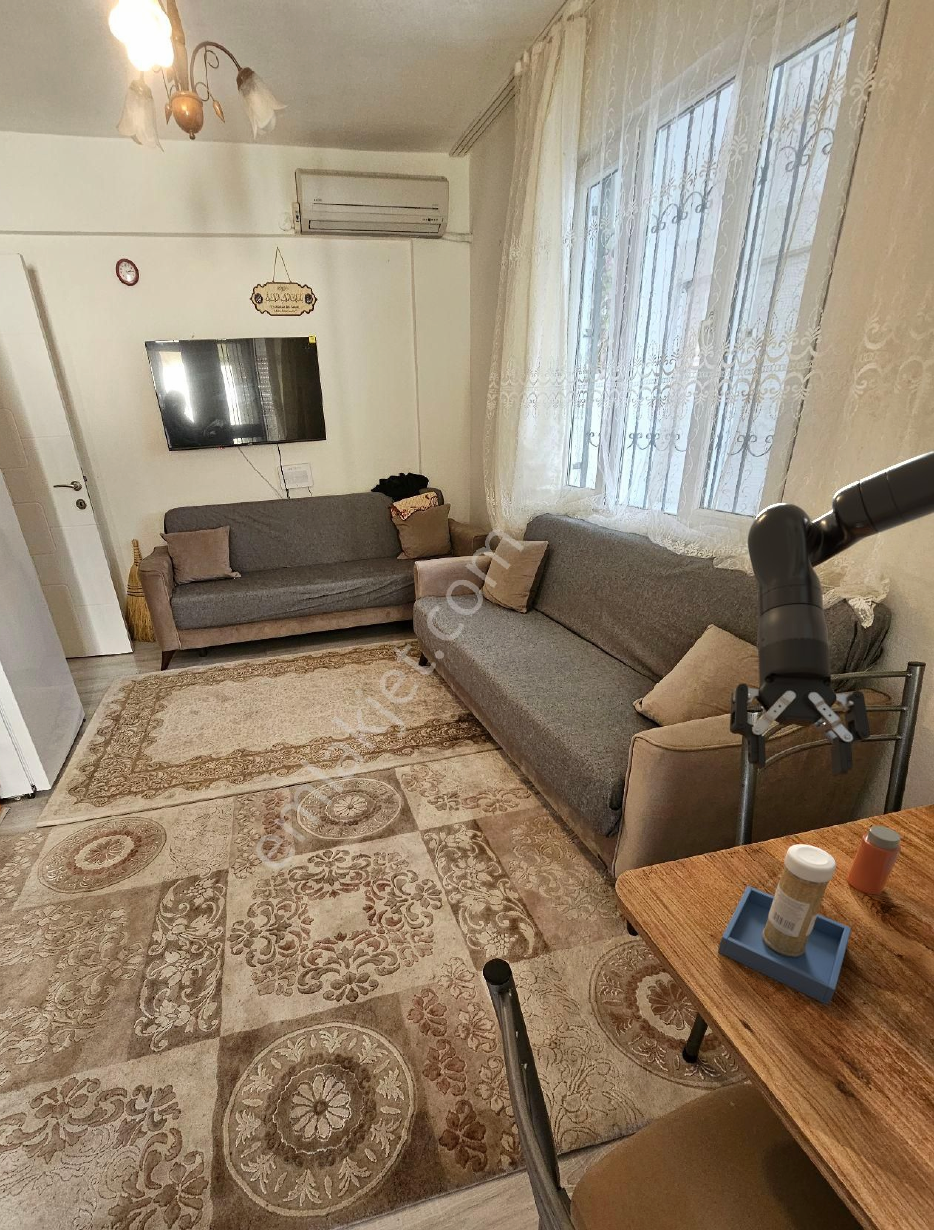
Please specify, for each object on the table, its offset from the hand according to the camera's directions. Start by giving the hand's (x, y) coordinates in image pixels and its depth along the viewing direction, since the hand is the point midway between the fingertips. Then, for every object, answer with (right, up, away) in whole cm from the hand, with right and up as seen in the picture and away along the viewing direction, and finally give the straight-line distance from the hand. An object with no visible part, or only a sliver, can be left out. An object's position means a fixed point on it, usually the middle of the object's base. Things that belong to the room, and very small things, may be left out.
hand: (799, 771), depth 69 cm
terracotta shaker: (+16, -16, +10) cm, 25 cm away
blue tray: (-2, -21, +1) cm, 21 cm away
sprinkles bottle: (-2, -21, +1) cm, 21 cm away
